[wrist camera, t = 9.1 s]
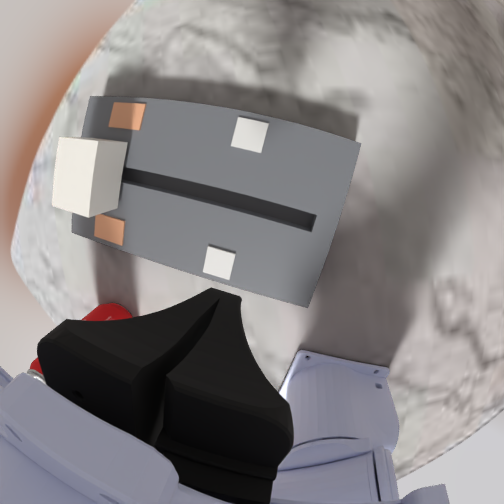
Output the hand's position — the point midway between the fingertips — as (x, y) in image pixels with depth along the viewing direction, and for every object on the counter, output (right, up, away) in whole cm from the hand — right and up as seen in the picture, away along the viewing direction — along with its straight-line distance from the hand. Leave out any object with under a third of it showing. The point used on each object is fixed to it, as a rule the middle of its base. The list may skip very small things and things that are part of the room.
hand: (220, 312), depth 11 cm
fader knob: (-10, +9, +9) cm, 16 cm away
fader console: (-3, +7, +9) cm, 12 cm away
